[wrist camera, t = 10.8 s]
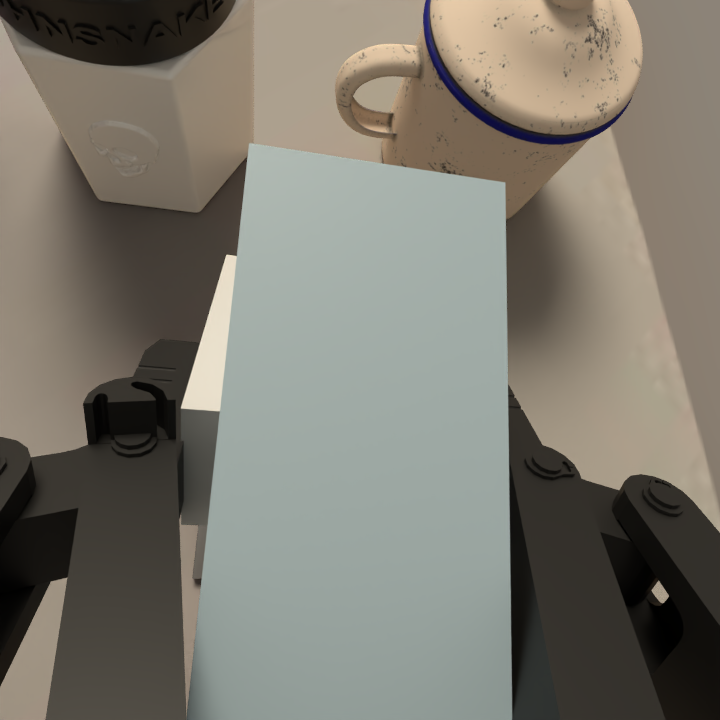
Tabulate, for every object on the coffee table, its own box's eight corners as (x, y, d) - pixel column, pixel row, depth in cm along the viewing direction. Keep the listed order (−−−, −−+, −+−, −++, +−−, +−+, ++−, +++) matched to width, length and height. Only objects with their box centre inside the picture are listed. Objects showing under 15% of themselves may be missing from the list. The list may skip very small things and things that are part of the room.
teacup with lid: (521, 90, 31) (669, -125, 20) (546, 237, 30) (724, 90, 18) (314, 79, 29) (353, -173, 18) (328, 239, 27) (381, 71, 16)
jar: (47, 200, 25) (-130, -40, 13) (75, 49, 27) (-59, -276, 15) (246, 225, 26) (240, 29, 15) (260, 81, 28) (265, -192, 17)
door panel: (356, 589, 17) (512, 756, 7) (228, 587, 17) (181, 768, 6) (367, 347, 19) (505, 182, 9) (253, 336, 18) (249, 142, 8)
